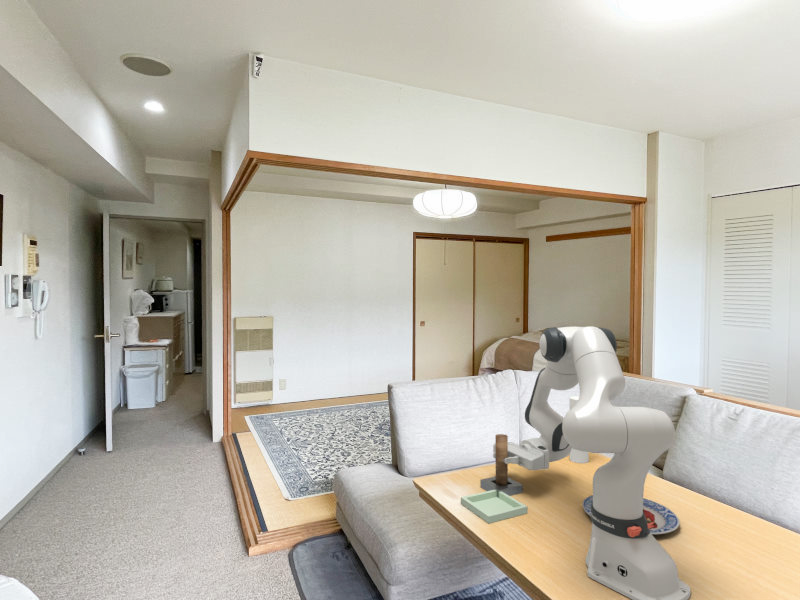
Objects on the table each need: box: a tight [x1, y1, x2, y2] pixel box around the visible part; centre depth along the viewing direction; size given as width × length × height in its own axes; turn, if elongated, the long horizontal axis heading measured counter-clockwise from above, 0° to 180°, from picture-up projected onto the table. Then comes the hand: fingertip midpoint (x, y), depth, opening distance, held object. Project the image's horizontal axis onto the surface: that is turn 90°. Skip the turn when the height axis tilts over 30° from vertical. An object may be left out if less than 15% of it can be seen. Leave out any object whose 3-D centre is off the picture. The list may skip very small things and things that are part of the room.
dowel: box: [495, 433, 509, 486], centre depth 156 cm, size 4×4×16 cm
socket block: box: [479, 475, 524, 497], centre depth 157 cm, size 10×10×3 cm
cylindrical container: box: [569, 395, 590, 464], centre depth 186 cm, size 7×7×25 cm
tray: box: [460, 490, 529, 524], centre depth 143 cm, size 14×14×2 cm
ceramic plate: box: [582, 494, 680, 536], centre depth 138 cm, size 26×26×3 cm
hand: (499, 458), depth 156 cm, fingers closed on dowel, 4 cm apart
